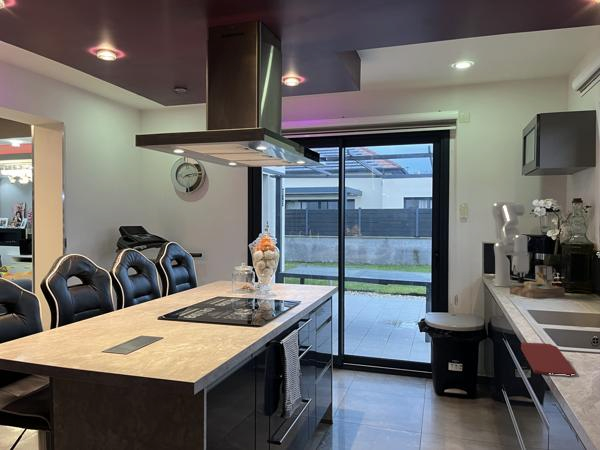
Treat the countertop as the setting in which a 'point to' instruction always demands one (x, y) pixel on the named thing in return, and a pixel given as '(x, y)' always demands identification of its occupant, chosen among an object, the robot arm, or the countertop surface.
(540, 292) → the wooden cutting board
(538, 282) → the coffee box
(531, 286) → the maple block
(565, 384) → the countertop surface
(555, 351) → the dark red flat piece
